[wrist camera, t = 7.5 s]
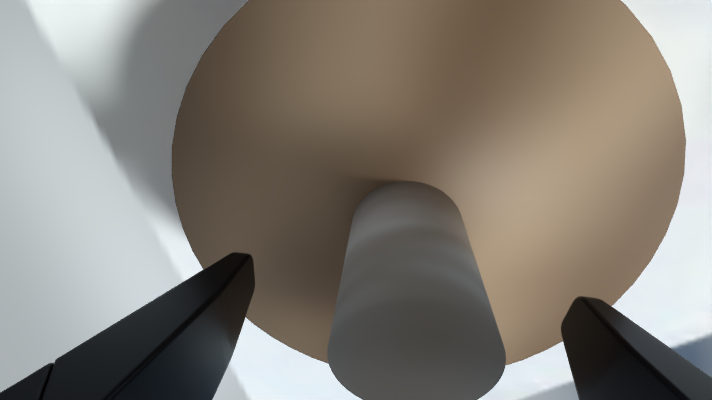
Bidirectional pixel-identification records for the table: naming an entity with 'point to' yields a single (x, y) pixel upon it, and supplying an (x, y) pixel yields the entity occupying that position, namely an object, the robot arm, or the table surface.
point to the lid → (428, 177)
